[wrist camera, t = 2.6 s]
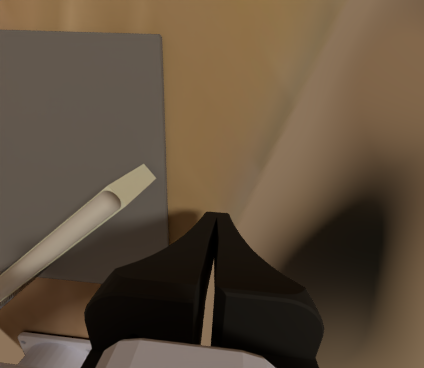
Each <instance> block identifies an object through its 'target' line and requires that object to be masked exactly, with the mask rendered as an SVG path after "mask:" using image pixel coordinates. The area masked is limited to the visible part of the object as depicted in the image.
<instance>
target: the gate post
mask: <svg viewBox="0 0 424 368" xmlns="http://www.w3.org/2000/svg"><path fill="white" fill-rule="evenodd" d="M23 256H24V255H23ZM23 256H22V257H23ZM20 258H21V257H20ZM20 258H19V259H20ZM19 259H17V260H16V261H15V262H17V261H18V260H19ZM15 262H13V263H12V264H10V265H9V266H7V267H6V268H5V269H3V270H2V271H0V275H1V274H2V273H3V272H5V271H6V270H7V269H8V268H9V267H11V266H12V265H13V264H14V263H15ZM50 265H51V264H49V265H48V266H47V267H45V268H44V269H43V270H42V271H40V272H39V273H38V274H36V275H35V276H34V277H32V278H31V279H30V280H28V281H27V282H26V283H25V284H23V285H22V286H21V287H19V288H18V289H17V290H15V291H14V292H13V293H11V294H10V295H9V296H8V297H6V298H5V299H4V300H2V301H1V302H0V309H1V308H2V307H3V306H4V305H5V304H7V303H8V302H9V301H10V300H11V299H12V298H14V297H15V296H16V295H17V294H18V293H19V292H21V291H22V290H23V289H24V288H25V287H26V286H28V285H29V284H30V283H31V282H32V281H33V280H34V279H36V278H37V277H38V276H39V275H40V274H41V273H43V272H44V271H45V270H46V269H47V268H48V267H49V266H50Z"/></svg>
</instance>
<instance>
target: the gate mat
mask: <svg viewBox="0 0 424 368" xmlns="http://www.w3.org/2000/svg"><path fill="white" fill-rule="evenodd" d="M142 164H145V166H146V167H147V168H148V169H149V170H150V171H151V173H152V174H153V175H154V176H155V177H156V179H155V180H154V181H153V182H152V183H151V184H150V185H149V186H147V187H146V188H145V189H144V190H143V191H142V192H141V193H140V194H139V195H138V196H136V197H135V198H134V199H133V200H132V201H131V202H130V203H129V204H128V205H127V206H125V207H124V208H123V209H121V210H120V211H119V212H118V213H116V214H115V215H114V216H112V217H111V218H110V219H108V220H107V221H106V222H104V223H103V224H102V225H100V226H99V227H98V228H97V229H95V230H94V231H93V232H91V233H90V234H89V235H87V236H86V237H85V238H83V239H82V240H81V241H80V242H78V243H77V244H76V245H74V246H73V247H72V248H70V249H69V250H68V251H66V252H65V253H64V254H63V255H61V256H60V257H59V258H57V259H56V260H55V261H53V262H52V263H51V265H50V266H49V267H48V268H47V269H46V270H45V271H44V272H43V273H41V274H40V275H39V276H38V277H43V278H52V279H62V280H71V281H80V282H90V283H99V284H103V282H104V281H105V280H106V278H107V277H108V276H109V275H110V274H111V273H112V272H113V270H114V269H115V268H118V267H122V266H124V265H127V264H130V263H133V262H136V261H139V260H141V259H144V258H146V257H148V256H151V255H153V254H155V253H157V252H159V251H161V250H163V249H164V248H166V247H168V246H169V235H168V205H167V174H166V144H165V113H164V83H163V52H162V36H161V35H160V34H131V33H96V32H61V31H27V30H0V271H2V270H3V269H5V268H6V267H7V266H9V265H10V264H12V263H13V262H15V261H16V260H17V259H19V258H20V257H22V256H23V255H25V254H26V253H27V252H29V251H30V250H31V249H32V248H33V247H35V246H36V245H37V244H38V243H39V242H41V241H42V240H43V239H44V238H45V237H47V236H48V235H49V234H50V233H51V232H53V231H54V230H55V229H56V228H57V227H59V226H60V225H61V224H62V223H63V222H65V221H66V220H67V219H68V218H69V217H71V216H72V215H73V214H74V213H75V212H77V211H78V210H79V209H80V208H81V207H83V206H84V205H85V204H86V203H87V202H89V201H90V200H91V199H92V198H93V197H95V196H96V195H97V194H98V193H99V192H101V191H102V190H103V189H104V188H105V187H107V186H108V185H109V184H111V183H113V182H114V181H116V180H118V179H119V178H121V177H123V176H124V175H126V174H128V173H129V172H131V171H133V170H134V169H136V168H137V167H139V166H141V165H142Z"/></svg>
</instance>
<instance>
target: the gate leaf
mask: <svg viewBox="0 0 424 368" xmlns="http://www.w3.org/2000/svg"><path fill="white" fill-rule="evenodd" d="M155 179H156V177H155V176H154V175H153V174H152V173H151V171H150V170H149V169H148V168H147V167H146V166H145V164H142V165H141V166H139V167H137V168H136V169H134V170H133V171H131V172H129V173H128V174H126V175H124V176H123V177H121V178H119V179H118V180H116V181H114V182H113V183H111V184H109V185H108V186H107V187H105V188H104V189H103V190H102V191H101V192H99V193H98V194H97V195H96V196H95V197H93V198H92V199H91V200H90V201H89V202H87V203H86V204H85V205H84V206H83V207H81V208H80V209H79V210H78V211H77V212H75V213H74V214H73V215H72V216H71V217H69V218H68V219H67V220H66V221H65V222H63V223H62V224H61V225H60V226H59V227H57V228H56V229H55V230H54V231H53V232H51V233H50V234H49V235H48V236H47V237H45V238H44V239H43V240H42V241H41V242H39V243H38V244H37V245H36V246H35V247H33V248H32V249H31V250H30V251H29V252H27V253H26V254H25V255H24V256H23V257H21V258H20V259H19V260H18V261H17V262H15V263H14V264H13V265H12V266H11V267H9V268H8V269H7V270H6V271H5V272H3V273H2V274H1V275H0V302H1V301H2V300H4V299H5V298H6V297H8V296H9V295H10V294H11V293H13V292H14V291H15V290H17V289H18V288H19V287H21V286H22V285H23V284H25V283H26V282H27V281H28V280H30V279H31V278H32V277H34V276H35V275H36V274H38V273H39V272H40V271H42V270H43V269H44V268H45V267H47V266H48V265H49V264H51V263H52V262H53V261H55V260H56V259H57V258H59V257H60V256H61V255H63V254H64V253H65V252H66V251H68V250H69V249H70V248H72V247H73V246H74V245H76V244H77V243H78V242H80V241H81V240H82V239H83V238H85V237H86V236H87V235H89V234H90V233H91V232H93V231H94V230H95V229H97V228H98V227H99V226H100V225H102V224H103V223H104V222H106V221H107V220H108V219H110V218H111V217H112V216H114V215H115V214H116V213H118V212H119V211H120V210H121V209H123V208H124V207H125V206H127V205H128V204H129V203H130V202H131V201H132V200H133V199H134V198H135V197H136V196H138V195H139V194H140V193H141V192H142V191H143V190H144V189H145V188H146V187H147V186H149V185H150V184H151V183H152V182H153V181H154V180H155Z"/></svg>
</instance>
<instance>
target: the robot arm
mask: <svg viewBox="0 0 424 368" xmlns="http://www.w3.org/2000/svg"><path fill="white" fill-rule="evenodd" d="M213 260H214V280H215V281H214V283H215V294H214V309H213V322H212V323H213V324H212V336H211V346H202V345H201V337H202V328H203V318H204V310H205V300H206V295H207V289H208V285H209V280H210V275H211V270H212V265H213ZM84 315H85V323H86V327H87V331H88V335H89V339H90V340H85V339H77V338H69V337H60V336H52V335H44V334H36V333H28V332H22V333H20V334H19V336H18V340H19V343H20V345H21V347H22V349H23V352H24V354H25V356H24V358H23V359H22V360H21V361H20V363H19V364H18V365H15V364H7V363H0V368H319V367H318V364H317V361H316V358H315V357H316V354H317V352H318V349H319V346H320V343H321V341H322V338H323V333H324V325H323V322H322V319H321V316H320V314H319V312H318V310H317V308H316V306H315V304H314V302H313V300H312V298H311V297H310V295H309V293H308V292H307V290H306V288H305V287H303V286H301V285H300V284H298V283H297V282H295V281H293V280H291V279H290V278H288V277H286V276H285V275H283V274H282V273H280V272H279V271H277V270H276V269H275V268H273V267H271V266H270V265H269V264H268V263H267V262H265V261H264V260H263V259H262V258H261V257H260V256H258V255H257V254H256V253H255V252H254V251H253V250H252V249H251V248H250V247H249V245H248V244H247V243H246V242H245V240H244V239H243V238H242V237H241V235H240V234H239V232H238V230H237V229H236V227H235V226H234V224H233V222H232V220H231V218H230V215H229V214H228V213H217V212H206V213H205V214H204V215H203V217H202V218H201V219H200V220H199V221H198V222H197V223H196V224H195V225H194V227H193V228H192V229H190V230H189V231H188V232H187V233H186V234H185V235H184V236H182V237H181V238H180V239H179V240H177V241H176V242H174V243H173V244H171V245H170V246H168V247H166V248H164V249H163V250H161V251H159V252H157V253H155V254H153V255H151V256H148V257H146V258H144V259H141V260H139V261H136V262H133V263H130V264H127V265H124V266H122V267H118V268H115V269H114V270H113V272H112V273H111V274H110V275H109V276H108V277H107V278H106V280H105V281H104V282H103V284H102V285H101V286H100V288H99V289H98V290H97V292H96V293H95V295H94V296H93V297H92V299H91V300H90V301H89V303H88V304H87V306H86V309H85V312H84Z"/></svg>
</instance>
